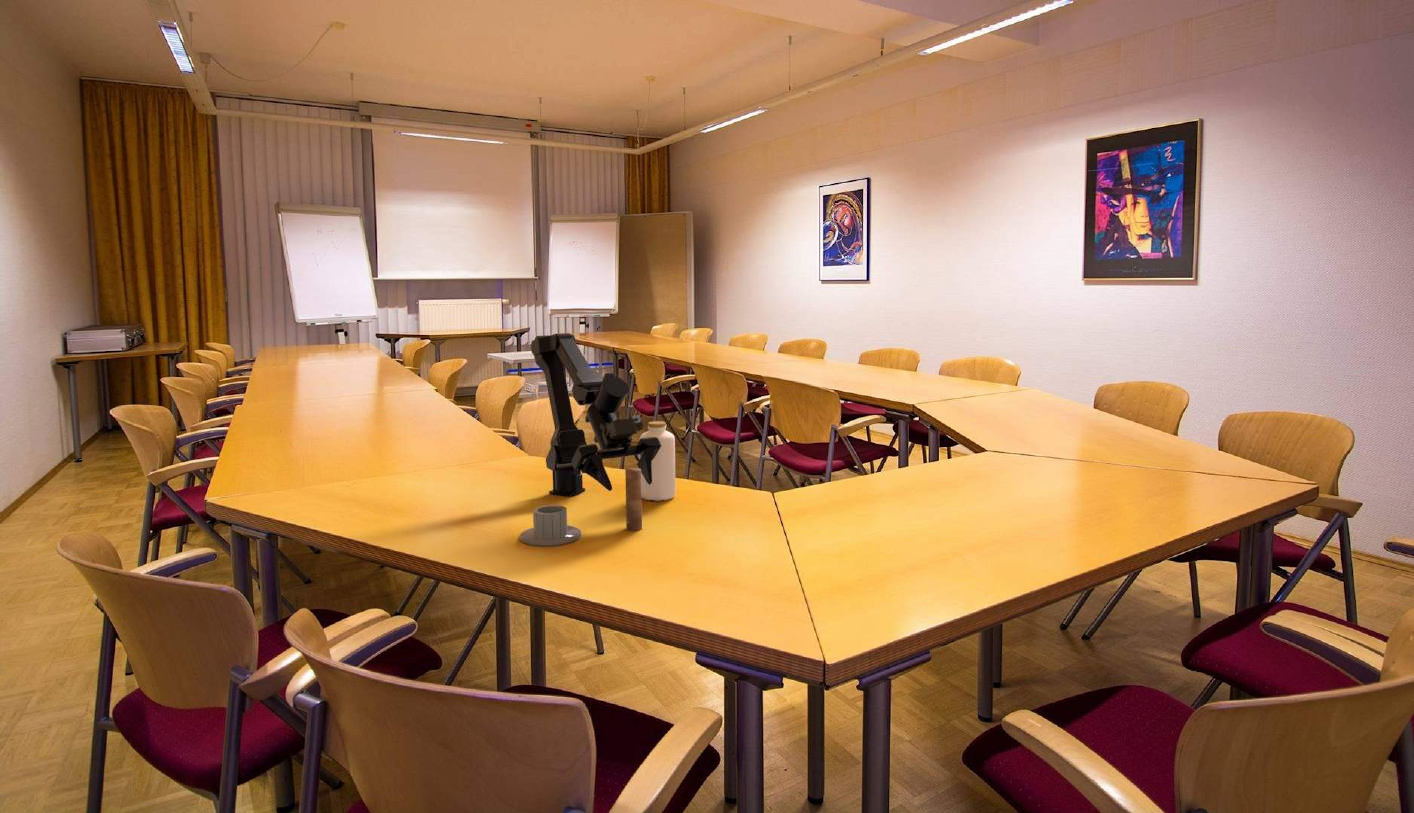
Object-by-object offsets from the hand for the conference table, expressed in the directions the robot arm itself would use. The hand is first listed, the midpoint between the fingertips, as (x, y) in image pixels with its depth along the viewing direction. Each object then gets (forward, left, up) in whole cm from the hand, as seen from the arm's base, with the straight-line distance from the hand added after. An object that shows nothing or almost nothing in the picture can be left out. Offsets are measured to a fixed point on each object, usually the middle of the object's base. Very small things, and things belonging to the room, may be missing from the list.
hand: (631, 486), depth 159 cm
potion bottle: (-7, +23, -9) cm, 25 cm away
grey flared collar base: (-11, -12, -9) cm, 19 cm away
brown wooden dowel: (+1, 0, -9) cm, 9 cm away
